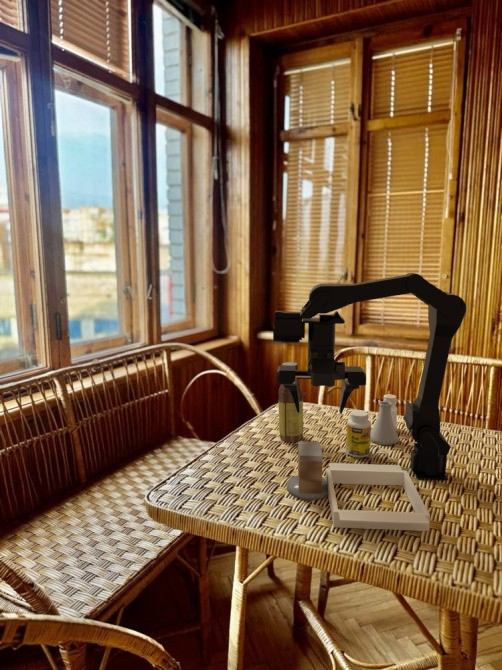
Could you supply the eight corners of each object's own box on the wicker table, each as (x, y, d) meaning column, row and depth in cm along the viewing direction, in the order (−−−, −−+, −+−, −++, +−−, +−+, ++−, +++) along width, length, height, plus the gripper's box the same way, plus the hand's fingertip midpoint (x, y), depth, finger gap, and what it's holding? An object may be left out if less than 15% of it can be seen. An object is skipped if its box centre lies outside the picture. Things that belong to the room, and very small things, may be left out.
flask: (380, 448, 117) (382, 409, 115) (363, 437, 124) (365, 400, 122) (404, 443, 120) (406, 405, 118) (386, 432, 126) (388, 397, 124)
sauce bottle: (307, 436, 124) (309, 362, 120) (296, 445, 119) (297, 368, 115) (285, 431, 127) (286, 359, 124) (273, 439, 122) (274, 364, 118)
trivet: (329, 478, 102) (329, 475, 102) (333, 501, 93) (333, 497, 93) (286, 477, 102) (287, 473, 102) (287, 499, 94) (287, 495, 94)
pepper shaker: (395, 433, 126) (397, 399, 124) (379, 431, 127) (381, 397, 125) (396, 427, 130) (398, 394, 128) (380, 426, 131) (382, 393, 129)
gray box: (319, 477, 101) (320, 442, 99) (321, 493, 94) (322, 456, 93) (297, 477, 101) (298, 441, 99) (298, 492, 95) (299, 455, 93)
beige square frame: (402, 478, 102) (403, 465, 101) (433, 539, 81) (434, 523, 80) (324, 475, 103) (325, 462, 103) (334, 535, 82) (335, 519, 82)
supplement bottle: (347, 458, 111) (349, 417, 109) (344, 448, 117) (345, 408, 115) (371, 458, 111) (373, 417, 109) (367, 448, 117) (369, 409, 115)
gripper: (277, 351, 94) (276, 425, 97) (372, 352, 93) (368, 427, 96) (277, 339, 105) (277, 407, 108) (363, 341, 104) (360, 409, 107)
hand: (319, 412), depth 104 cm, fingers open, 9 cm apart
